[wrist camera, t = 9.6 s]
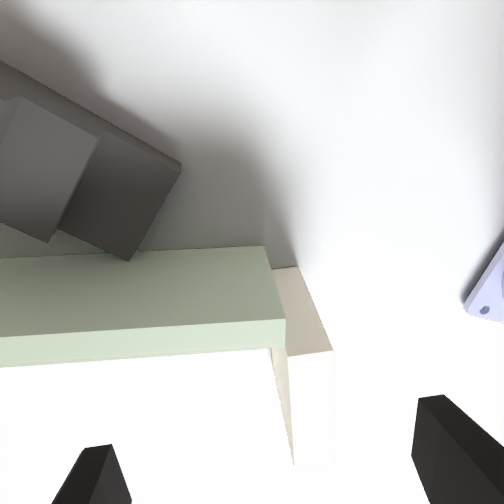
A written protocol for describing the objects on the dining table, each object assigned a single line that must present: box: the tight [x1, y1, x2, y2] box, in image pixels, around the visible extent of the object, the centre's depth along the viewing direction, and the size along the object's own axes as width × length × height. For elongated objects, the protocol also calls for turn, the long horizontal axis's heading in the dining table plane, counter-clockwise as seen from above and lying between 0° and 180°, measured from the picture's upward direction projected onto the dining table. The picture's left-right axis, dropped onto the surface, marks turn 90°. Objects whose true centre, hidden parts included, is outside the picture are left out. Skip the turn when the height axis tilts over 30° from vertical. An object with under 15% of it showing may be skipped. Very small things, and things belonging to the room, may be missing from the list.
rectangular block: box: [271, 266, 333, 470], centre depth 14 cm, size 28×2×6 cm, turn 5°
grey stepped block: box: [0, 61, 181, 261], centre depth 15 cm, size 8×4×4 cm, turn 57°
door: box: [0, 246, 286, 368], centre depth 16 cm, size 14×2×6 cm, turn 90°
